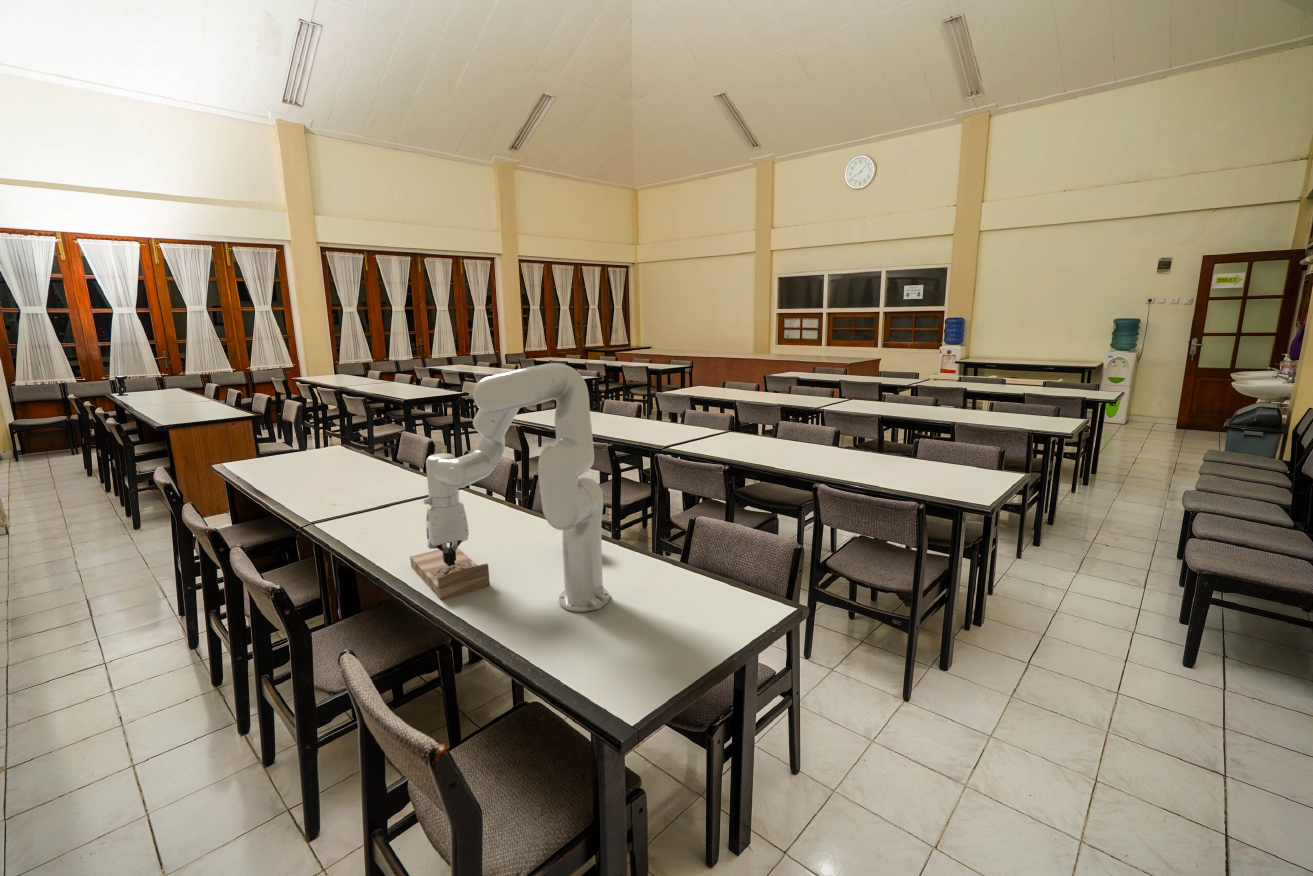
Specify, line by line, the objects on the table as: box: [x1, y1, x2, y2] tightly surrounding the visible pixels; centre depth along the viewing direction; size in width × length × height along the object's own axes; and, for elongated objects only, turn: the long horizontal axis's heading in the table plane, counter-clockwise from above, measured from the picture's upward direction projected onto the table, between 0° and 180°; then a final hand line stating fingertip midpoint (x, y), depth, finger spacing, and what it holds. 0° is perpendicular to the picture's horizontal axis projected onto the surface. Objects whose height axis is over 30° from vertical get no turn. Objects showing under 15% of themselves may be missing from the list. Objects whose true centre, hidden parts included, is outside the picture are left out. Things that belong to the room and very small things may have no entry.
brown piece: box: [409, 546, 491, 601], centre depth 164 cm, size 26×13×6 cm, turn 37°
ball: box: [449, 568, 462, 573], centre depth 159 cm, size 4×4×4 cm
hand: (450, 564), depth 163 cm, fingers closed
